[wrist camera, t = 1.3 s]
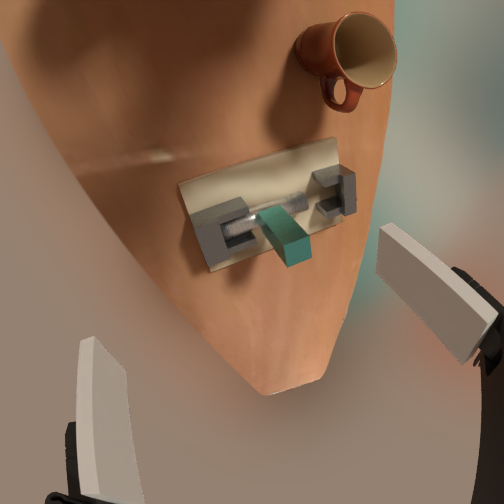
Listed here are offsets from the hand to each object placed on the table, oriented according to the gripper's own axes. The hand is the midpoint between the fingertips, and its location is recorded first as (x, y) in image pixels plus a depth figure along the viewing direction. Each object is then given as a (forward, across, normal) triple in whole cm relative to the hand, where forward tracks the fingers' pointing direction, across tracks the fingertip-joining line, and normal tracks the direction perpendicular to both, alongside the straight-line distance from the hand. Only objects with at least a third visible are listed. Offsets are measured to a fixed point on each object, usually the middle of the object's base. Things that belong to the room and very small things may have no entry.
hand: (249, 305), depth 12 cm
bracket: (+25, +2, -11) cm, 28 cm away
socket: (+25, +18, -10) cm, 33 cm away
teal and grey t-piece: (+25, +6, -11) cm, 28 cm away
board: (+26, +10, -10) cm, 30 cm away
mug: (+26, +20, +8) cm, 34 cm away
